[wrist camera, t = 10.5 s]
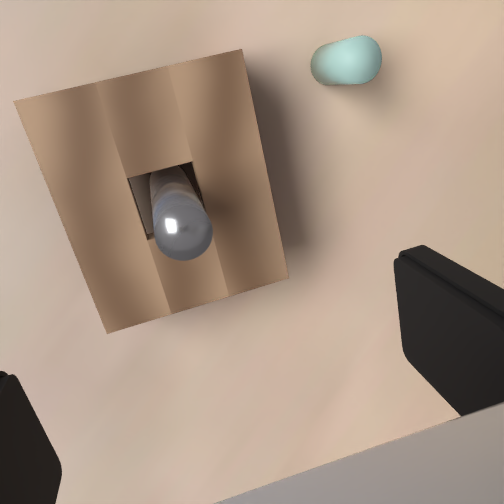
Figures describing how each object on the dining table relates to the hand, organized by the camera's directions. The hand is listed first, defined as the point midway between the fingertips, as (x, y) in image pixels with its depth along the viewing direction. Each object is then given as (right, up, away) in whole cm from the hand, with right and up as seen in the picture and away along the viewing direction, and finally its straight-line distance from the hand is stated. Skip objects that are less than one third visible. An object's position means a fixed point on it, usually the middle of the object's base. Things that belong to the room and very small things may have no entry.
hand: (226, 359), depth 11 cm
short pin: (+6, +15, +20) cm, 26 cm away
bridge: (-5, +7, +20) cm, 22 cm away
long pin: (-5, +7, +20) cm, 22 cm away
